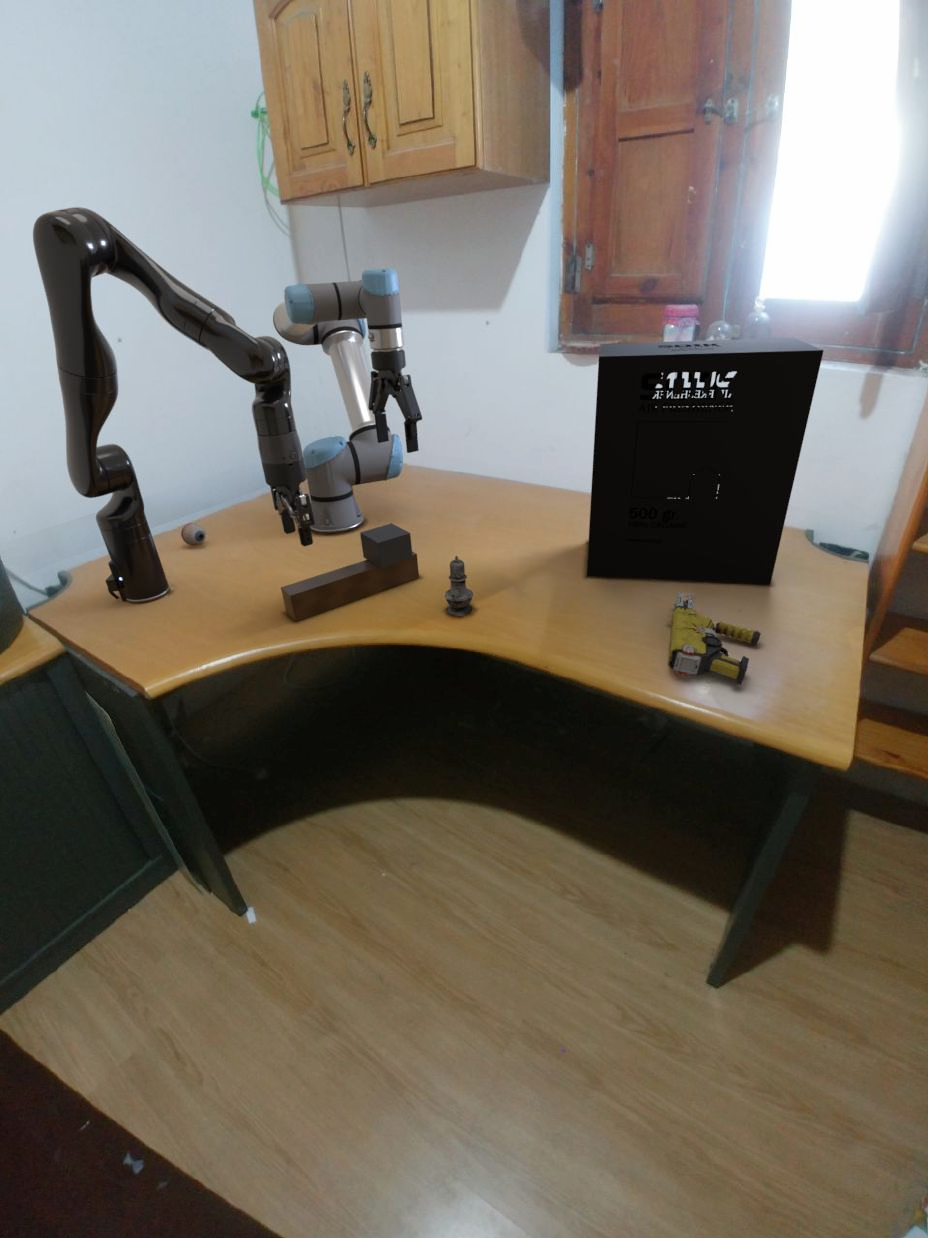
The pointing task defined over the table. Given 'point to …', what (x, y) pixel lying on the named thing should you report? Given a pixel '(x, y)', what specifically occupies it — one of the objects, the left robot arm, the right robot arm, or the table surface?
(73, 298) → the left robot arm
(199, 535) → the eyeball
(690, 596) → the toy gun
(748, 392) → the cardboard box
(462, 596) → the salt shaker
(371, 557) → the cap block
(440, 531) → the table surface
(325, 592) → the dark wooden beam
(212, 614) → the table surface
